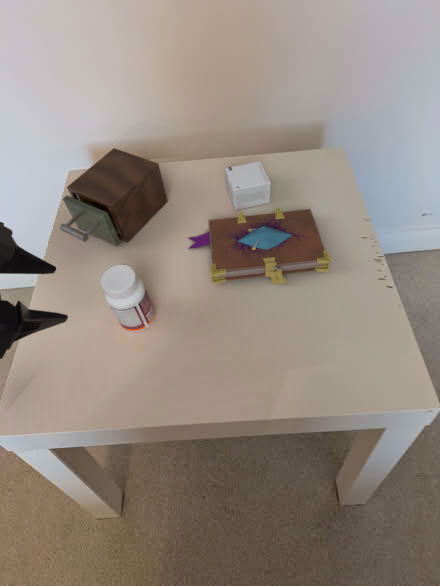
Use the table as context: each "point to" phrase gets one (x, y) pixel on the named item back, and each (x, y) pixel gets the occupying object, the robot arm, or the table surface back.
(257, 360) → the table surface
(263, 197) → the small box
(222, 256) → the book
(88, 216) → the drawer
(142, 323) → the pill bottle
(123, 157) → the cabinet
